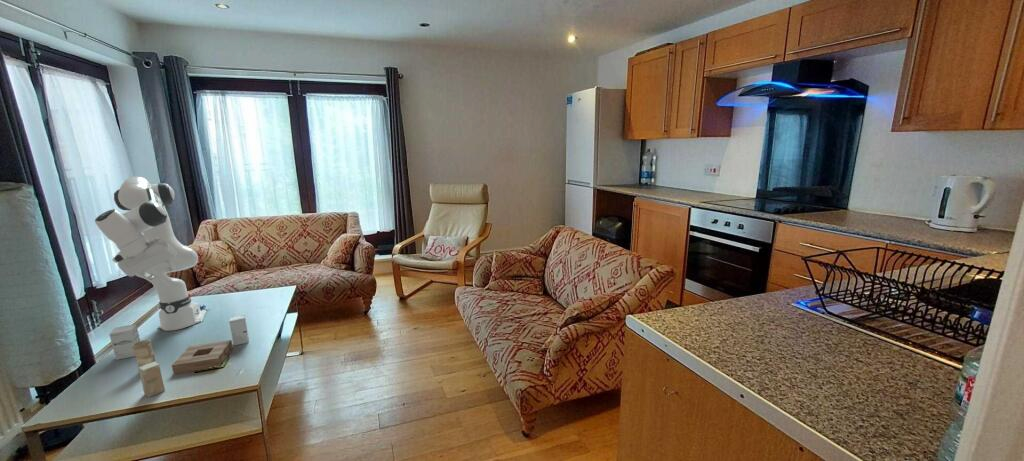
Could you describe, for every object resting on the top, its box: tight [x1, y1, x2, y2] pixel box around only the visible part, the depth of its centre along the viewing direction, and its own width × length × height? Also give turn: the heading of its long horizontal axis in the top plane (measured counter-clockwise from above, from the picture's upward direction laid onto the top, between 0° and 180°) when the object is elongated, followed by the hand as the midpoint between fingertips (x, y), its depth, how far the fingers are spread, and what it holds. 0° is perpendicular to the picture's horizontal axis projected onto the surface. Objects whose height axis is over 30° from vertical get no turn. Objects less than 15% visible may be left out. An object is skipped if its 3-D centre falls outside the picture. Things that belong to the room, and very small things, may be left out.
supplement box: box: [109, 323, 141, 361], centre depth 180 cm, size 7×7×13 cm
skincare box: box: [228, 314, 250, 346], centre depth 187 cm, size 6×4×12 cm
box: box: [137, 361, 166, 398], centre depth 152 cm, size 5×4×11 cm
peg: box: [132, 339, 157, 367], centre depth 167 cm, size 4×4×12 cm
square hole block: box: [171, 339, 234, 375], centre depth 173 cm, size 16×16×4 cm
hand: (163, 274), depth 168 cm, fingers open, 8 cm apart
